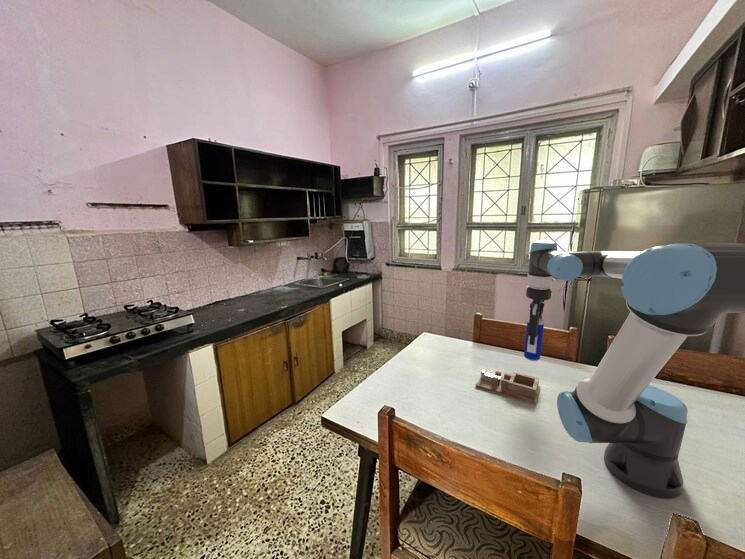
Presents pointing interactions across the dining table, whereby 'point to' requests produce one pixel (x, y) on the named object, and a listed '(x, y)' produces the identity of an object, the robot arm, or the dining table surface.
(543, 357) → the dining table surface
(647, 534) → the dining table surface
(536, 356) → the beverage can
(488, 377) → the lock pin
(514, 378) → the mount
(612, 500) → the dining table surface
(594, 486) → the dining table surface
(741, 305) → the robot arm
